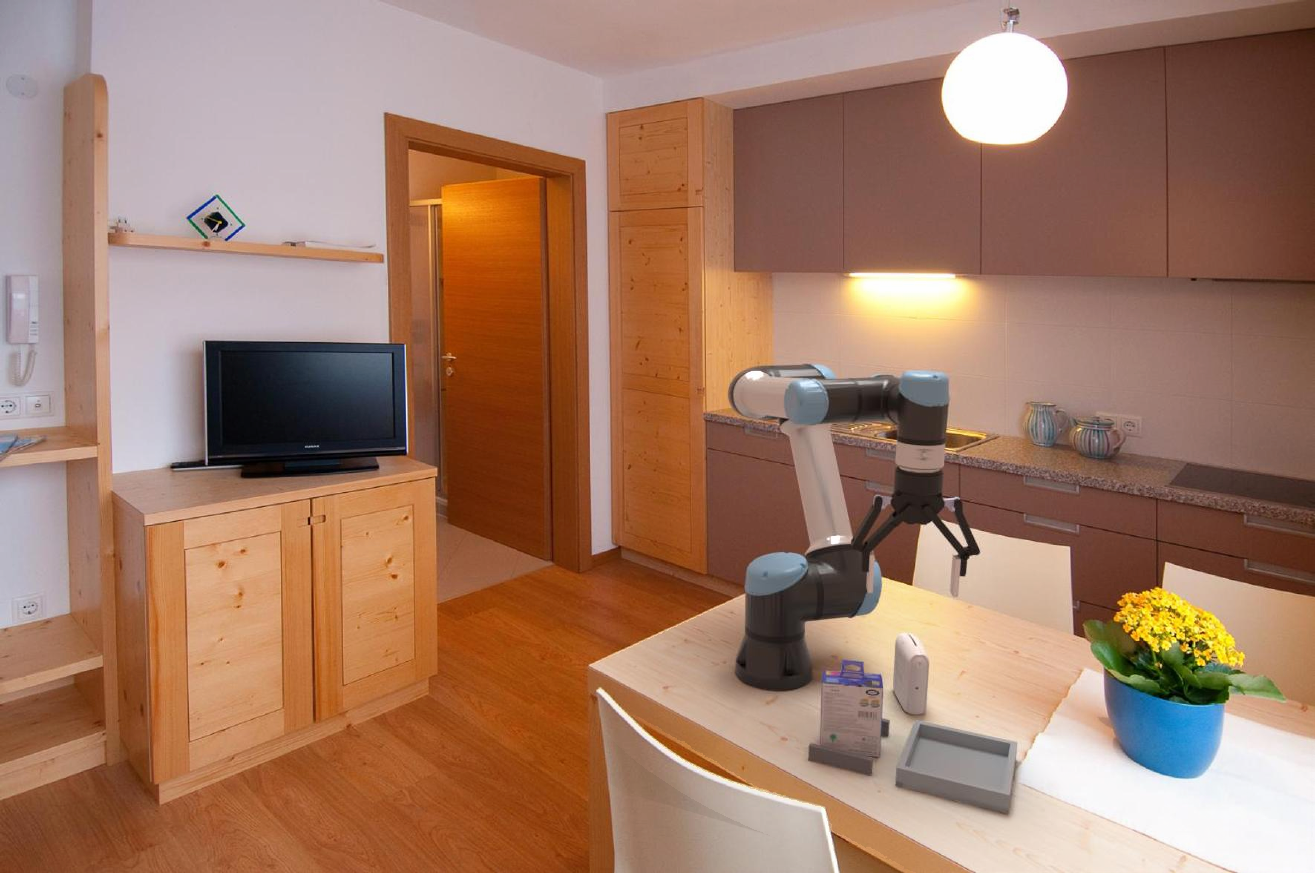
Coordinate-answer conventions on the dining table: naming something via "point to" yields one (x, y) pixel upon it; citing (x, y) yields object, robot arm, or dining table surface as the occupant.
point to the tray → (958, 765)
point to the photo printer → (911, 673)
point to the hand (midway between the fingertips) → (911, 592)
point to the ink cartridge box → (852, 710)
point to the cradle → (845, 755)
